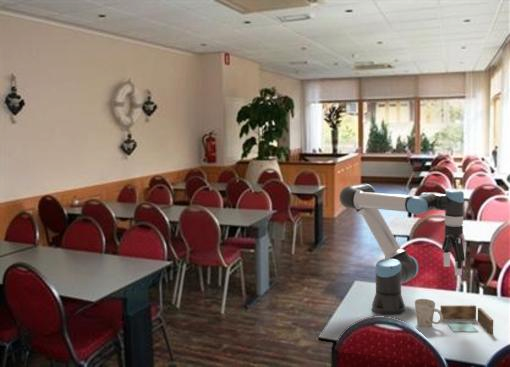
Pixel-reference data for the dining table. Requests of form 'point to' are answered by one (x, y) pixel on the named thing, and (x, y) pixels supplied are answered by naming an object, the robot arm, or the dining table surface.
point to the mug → (426, 312)
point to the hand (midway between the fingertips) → (452, 270)
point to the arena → (466, 313)
